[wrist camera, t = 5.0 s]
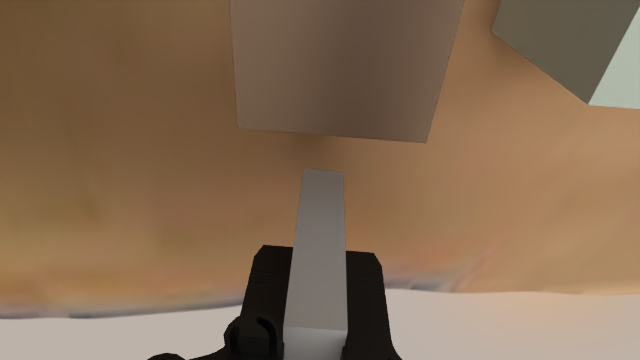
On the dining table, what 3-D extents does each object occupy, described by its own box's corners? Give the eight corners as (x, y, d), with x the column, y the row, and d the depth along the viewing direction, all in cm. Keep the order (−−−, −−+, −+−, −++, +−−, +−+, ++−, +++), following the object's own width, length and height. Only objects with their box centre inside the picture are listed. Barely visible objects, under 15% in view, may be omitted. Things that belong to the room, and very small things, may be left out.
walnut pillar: (280, 37, 17) (237, 128, 10) (281, -97, 14) (221, -113, 7) (387, 46, 17) (425, 143, 10) (410, -86, 14) (489, -89, 7)
